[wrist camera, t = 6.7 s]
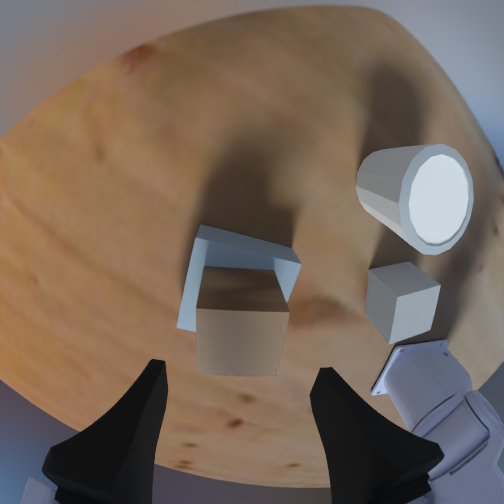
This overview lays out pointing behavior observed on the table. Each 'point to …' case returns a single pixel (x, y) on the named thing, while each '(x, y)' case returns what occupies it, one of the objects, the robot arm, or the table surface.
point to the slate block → (233, 264)
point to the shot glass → (418, 194)
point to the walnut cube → (240, 322)
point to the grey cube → (401, 300)
